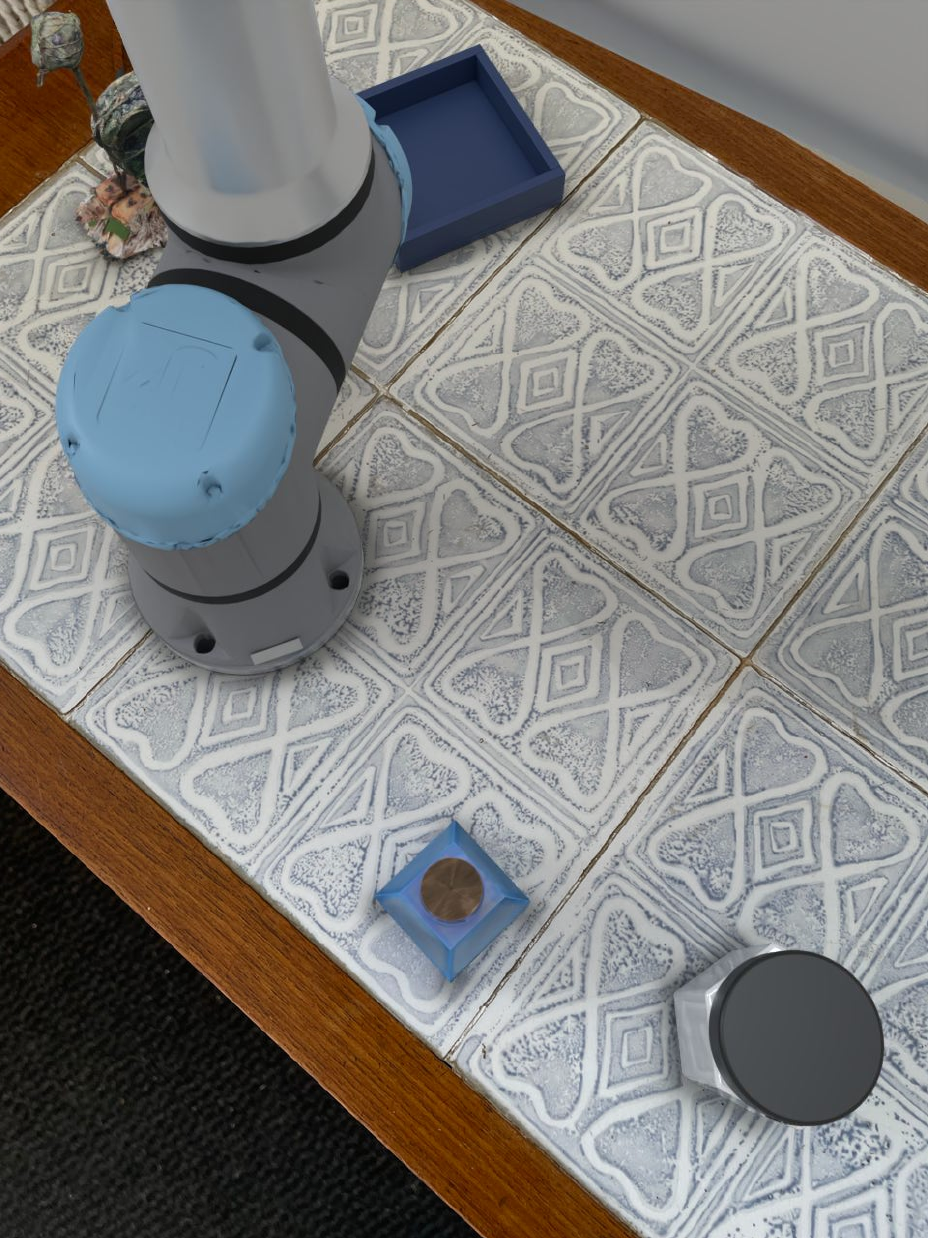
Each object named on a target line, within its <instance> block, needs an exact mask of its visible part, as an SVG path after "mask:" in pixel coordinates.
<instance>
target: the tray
mask: <svg viewBox="0 0 928 1238" xmlns="http://www.w3.org/2000/svg"><path fill="white" fill-rule="evenodd" d="M355 94H356V95H358V96H359V97H361V98H362V99H363V100H364V101H365V102H367V103H368V104H369V105H370V106H371V107H372V108H373V109H374V110H375V112H376V115H375V120H374V122H375V123H376V124H377V125H386V126H389V127H390V129H391V130H392V131H393V133H394V134H395V136H396V137H397V139H398V141H399V143H400V144H401V147H402V149H403V151H404V154H405V156H406V159H407V162H408V165H409V169H410V173H411V180H412V203H411V209H410V213H409V216H408V221H407V229H406V234H405V239H404V242H403V243H402V245H401V250H400V253H399V255H398V257H397V259H396V261H395V263H394V265H396V268H397V269H398V270H399V272H400V273H405V272H407V271H408V270H411V269H413V268H416V267H418V266H420V265H423V264H425V263H427V262H430V261H433V260H434V259H436V258H439V257H441V256H444V255H446V254H448V253H451V252H452V251H453V252H454V251H455V250H457V249H460V248H462V247H464V246H467V245H469V244H472V243H474V242H476V241H479V240H481V239H483V238H485V237H487V236H490V235H492V234H495V233H497V232H499V231H502V230H505V229H506V228H509V227H511V226H513V225H515V224H518V223H520V222H523V221H525V220H527V219H530V218H532V217H534V216H536V215H539V214H541V213H543V212H546V211H549V210H550V209H553V208H555V207H559V206H560V205H562V204H563V200H564V192H565V191H564V190H565V183H566V175H567V174H566V172H565V170H564V168H563V167H562V166H561V164H560V163H559V161H558V159H557V157H556V156H555V155H554V153H553V152H552V150H551V149H550V147H549V146H548V144H547V143H546V141H545V140H544V138H543V136H542V135H541V133H540V132H539V130H538V129H537V127H536V126H535V125H534V123H533V121H532V120H531V119H530V117H529V115H528V114H527V112H526V111H525V109H524V108H523V107H522V105H521V104H520V102H519V100H518V99H517V97H516V96H515V94H514V93H513V91H512V90H511V89H510V86H509V85H508V84H507V82H506V81H505V79H504V78H503V76H502V74H501V73H500V72H499V70H498V69H497V67H496V66H495V64H494V62H493V61H492V60H491V58H490V56H489V55H488V54H487V51H486V50H485V49H484V47H483V46H482V44H481V43H478V44H476V45H472V46H471V47H468V48H465V49H463V50H461V51H458V52H456V53H453V54H451V55H448V56H446V57H443V58H440V59H438V60H435V61H433V62H431V63H428V64H426V65H423V66H420V67H418V68H416V69H413V70H411V71H408V72H405V73H403V74H401V75H398V76H396V77H393V78H391V79H388V80H385V81H382V82H381V83H378V84H376V85H374V86H371V87H368V88H365V89H363V90H361V91H358V92H356V93H355Z"/></svg>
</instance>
